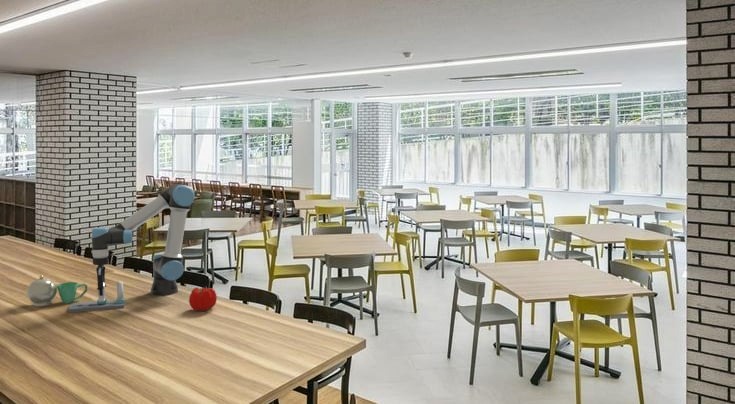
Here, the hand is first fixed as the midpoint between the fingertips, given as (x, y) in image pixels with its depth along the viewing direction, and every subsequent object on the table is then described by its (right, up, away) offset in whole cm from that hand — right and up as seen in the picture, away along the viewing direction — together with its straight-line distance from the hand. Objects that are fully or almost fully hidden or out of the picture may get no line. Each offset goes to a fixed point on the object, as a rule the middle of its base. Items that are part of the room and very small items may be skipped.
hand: (101, 300), depth 283 cm
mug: (-21, -3, +10) cm, 23 cm away
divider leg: (0, -2, 0) cm, 2 cm away
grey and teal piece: (-2, -4, 0) cm, 4 cm away
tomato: (+54, -5, -2) cm, 55 cm away
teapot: (-34, -3, +2) cm, 34 cm away
